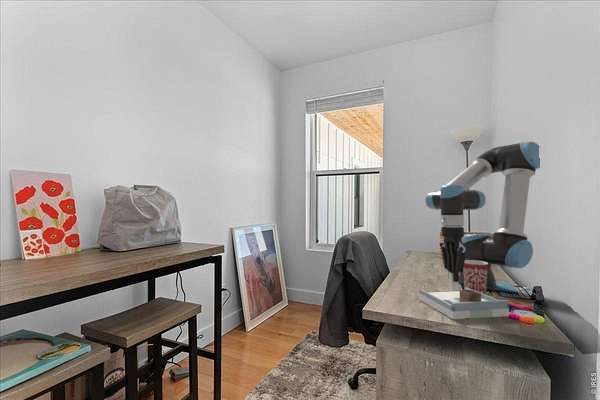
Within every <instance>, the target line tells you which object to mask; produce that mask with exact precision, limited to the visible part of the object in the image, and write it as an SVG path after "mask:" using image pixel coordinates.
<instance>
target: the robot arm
mask: <svg viewBox="0 0 600 400" xmlns="http://www.w3.org/2000/svg"><path fill="white" fill-rule="evenodd" d="M539 147H540V145H539V144H538V143H537V142H535V141H524V142H518V143H513V144H507V145H502V146H501V145H500V146H497V147H493V148H490V149H488V150H487V151H485V152H483V153H482V154H479V155H478V156H477V157H476V158H475V159H473V160H471V163H470V165H469V166H468V167H467V168H465V170H463V171H462V172H460V173H459V174H458V175H457V176H456V177H454V178H453V179H452V180H451V181H449V182H448V183H447V184H444V185H442V186H440V189H439V190H438V191H433V192H428V193H427V195H426V196H425V200H424V201H425V204H426V206H427V208H428V209H431V210H437V211H438V210H440V223H441V228H440V231H441V232H440V234H441V237H443V242H439V247H440V250H441V255H442V256H441V257H442V262H443V263H442V264H443V267H444V268H443V269H445V270H447V273H448V287H449V288H448V289H449V290H450V291H451V292H453V291H460V289H459V284H460V285H462V284H464V272H463V269H464V263H465V260H477V261H484V262H487V263H488V268H487V285H486V287H494V286H496V287H497V280H496V278H495V275H494V272H493V269H492V265H495V266H502V267H507V268H509V269H510V268H512V269H513V268H514V269H522V268H525V267H527V265H529V263H530V262H531V260H532V257H533V256H534V248H533V244H532V242H531V241H529V240H528V236H527V235H526V233H525V232H524V231H525V230H524V229H525V224H526V223H525V222H526V215H527V213H526V212H527V206H528V197H529V189H530V182H531V178H532V177H534V176H535V175H536V171H537V169H538V170H539V169H540V168H541V167H540V158H539ZM500 172H501V174H502V175H504V176H505V180H504V185H503V186H504V187H503V192H502V193H503V194H502V200H501V202H502V203H501V209H500V216H499V217H500V218H499V225H498V228H497V230H495V231H494V232H493V235H491V233H473V234H465V229H464V225H465V220H464V219H465V218H464V211H465V210H466V211H468V210H469V211H470V210H471V211H472V210H474V211H475V210H480V209H482V208H483V207H484V206H485V204H486V201H487V200H486V196H485V194H484V192H482V191H480V190H475V189H471V188H472V187H474V186H475V184H477V183H478V182H479V181H480V180H482V178H487V177H489V176H490V175H491V174H495V173H500ZM494 288H495V287H494Z"/></svg>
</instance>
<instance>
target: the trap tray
mask: <svg viewBox="0 0 600 400" xmlns="http://www.w3.org/2000/svg"><path fill="white" fill-rule="evenodd" d="M464 290H473V289H470V288H467V287H464ZM473 291H475V290H473ZM476 292H478V291H476ZM478 293H480V292H478ZM418 300H419V301H421V302H422V303H424V304H426V305H428V306H430V307H431V308H433V310H436V311H438V312H439V311H440V313H441V312H442V313H441V314H443V315H444V314H445V315H444V316H446V315H447V316H446V317H448V318H449V319H452V320H464V319H465V318H470V319H483V318H486V319H487V318H497V317H498V318H499V317H500V318H501V317H509V316H510V300H508V299H501V300H500V299H497V298H495V297H493V296H489V295H487V294H486V295H485V294H483V293H481V301H478V302H460V290H454V291H436V292H434V291H433V292H427V291H425V290H424V289H421V288H419V289H418ZM465 320H466V319H465Z"/></svg>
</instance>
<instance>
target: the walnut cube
mask: <svg viewBox="0 0 600 400" xmlns="http://www.w3.org/2000/svg"><path fill="white" fill-rule="evenodd" d="M459 291H460V302H478V301H481V293H478V292H476V291H473V290H465V289H459Z"/></svg>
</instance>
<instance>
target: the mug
mask: <svg viewBox="0 0 600 400" xmlns="http://www.w3.org/2000/svg"><path fill="white" fill-rule="evenodd" d="M487 268H488V263H487V262H484V261H477V260H465V263H464V269H463V272H464V285H463V287H464V288H465V287H467V288H470V289H473V290H475V291H478V292H480V293H483V294H485V295H487V288H486V285H487Z"/></svg>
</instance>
